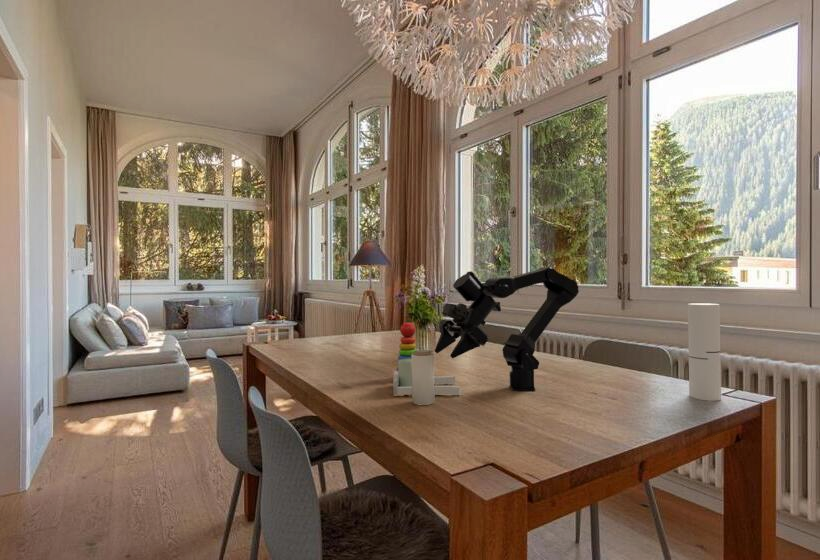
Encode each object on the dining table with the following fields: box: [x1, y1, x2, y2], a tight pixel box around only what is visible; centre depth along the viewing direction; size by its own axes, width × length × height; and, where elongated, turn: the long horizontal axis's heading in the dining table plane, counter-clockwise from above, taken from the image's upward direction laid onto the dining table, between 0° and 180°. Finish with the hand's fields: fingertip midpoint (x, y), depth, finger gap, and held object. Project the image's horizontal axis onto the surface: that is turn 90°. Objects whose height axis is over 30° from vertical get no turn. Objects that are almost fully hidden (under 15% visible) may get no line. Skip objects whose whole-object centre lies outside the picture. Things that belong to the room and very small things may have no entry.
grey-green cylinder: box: [397, 359, 412, 387], centre depth 133 cm, size 6×6×9 cm
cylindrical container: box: [687, 302, 722, 402], centre depth 120 cm, size 7×7×25 cm
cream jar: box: [411, 349, 436, 405], centre depth 120 cm, size 6×6×14 cm
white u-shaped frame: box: [392, 370, 461, 396], centre depth 133 cm, size 19×15×4 cm
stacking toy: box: [395, 321, 417, 377], centre depth 148 cm, size 8×8×19 cm
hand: (443, 354), depth 122 cm, fingers open, 9 cm apart
